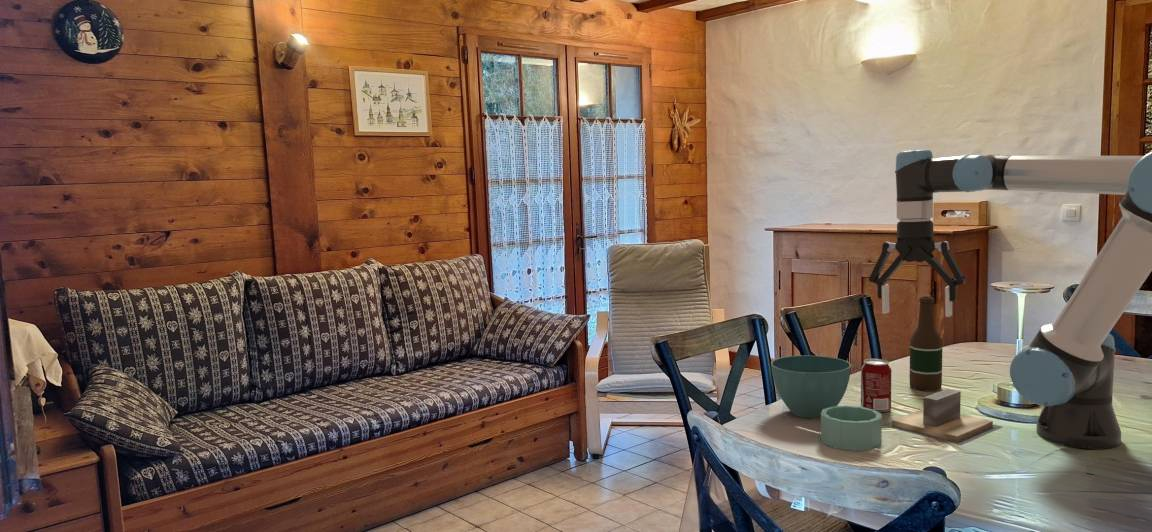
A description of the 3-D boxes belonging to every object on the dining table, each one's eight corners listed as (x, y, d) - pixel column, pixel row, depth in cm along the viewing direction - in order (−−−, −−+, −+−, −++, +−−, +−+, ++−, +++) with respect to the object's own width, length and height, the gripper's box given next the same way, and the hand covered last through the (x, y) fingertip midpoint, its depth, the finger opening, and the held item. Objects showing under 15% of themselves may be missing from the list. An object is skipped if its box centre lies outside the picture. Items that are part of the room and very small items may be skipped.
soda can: (893, 415, 189) (893, 365, 187) (863, 414, 190) (863, 364, 189) (888, 406, 195) (888, 358, 194) (859, 406, 197) (859, 358, 195)
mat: (1002, 428, 176) (1002, 426, 176) (960, 447, 166) (960, 445, 166) (925, 410, 191) (925, 409, 191) (881, 427, 180) (881, 425, 180)
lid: (992, 426, 177) (993, 394, 176) (957, 441, 168) (957, 408, 167) (928, 411, 189) (928, 381, 188) (891, 425, 180) (892, 394, 179)
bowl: (892, 441, 171) (893, 414, 170) (859, 455, 163) (859, 426, 163) (843, 428, 180) (843, 402, 180) (809, 440, 173) (809, 413, 172)
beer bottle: (948, 389, 209) (950, 297, 206) (925, 392, 206) (926, 300, 203) (925, 382, 216) (926, 293, 213) (902, 385, 213) (903, 296, 210)
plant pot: (756, 415, 192) (756, 365, 191) (796, 398, 205) (796, 351, 203) (826, 430, 179) (826, 376, 178) (864, 411, 192) (864, 361, 191)
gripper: (980, 217, 174) (981, 314, 176) (864, 220, 190) (866, 309, 192) (971, 219, 168) (972, 320, 170) (853, 222, 184) (855, 314, 186)
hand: (916, 314), depth 181 cm, fingers open, 13 cm apart
